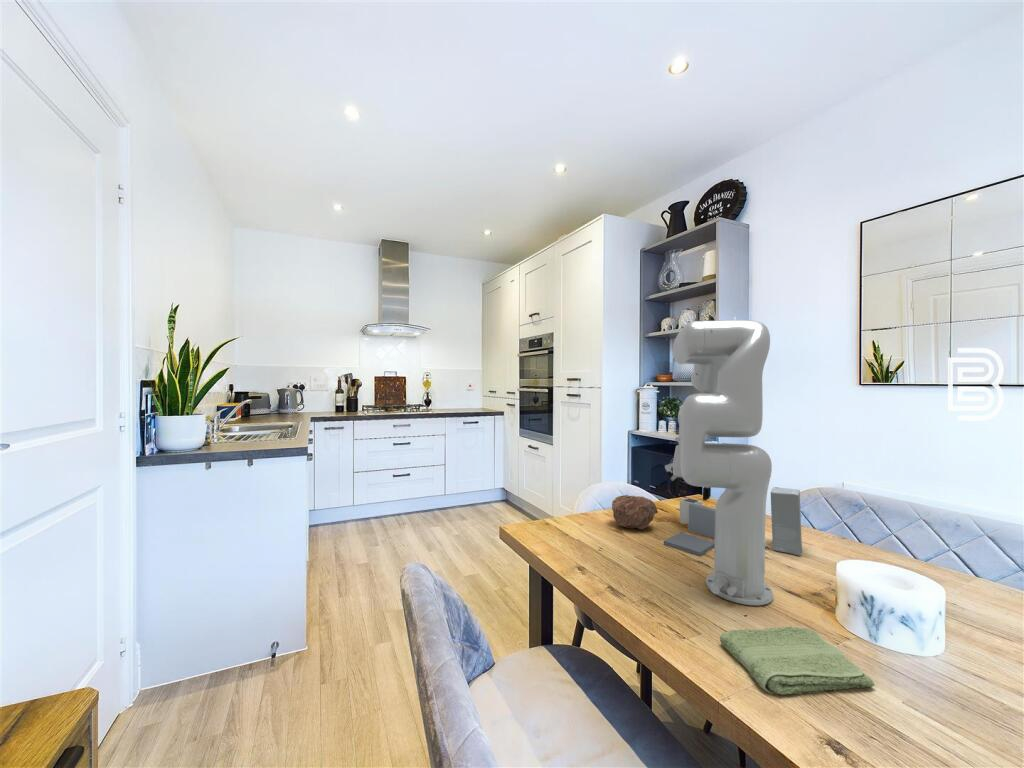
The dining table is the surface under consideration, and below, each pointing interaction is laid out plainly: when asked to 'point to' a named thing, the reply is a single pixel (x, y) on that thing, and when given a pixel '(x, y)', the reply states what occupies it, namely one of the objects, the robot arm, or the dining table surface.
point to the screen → (702, 520)
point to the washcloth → (793, 660)
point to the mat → (689, 543)
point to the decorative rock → (633, 511)
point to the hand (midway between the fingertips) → (690, 495)
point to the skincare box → (786, 520)
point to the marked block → (686, 509)
